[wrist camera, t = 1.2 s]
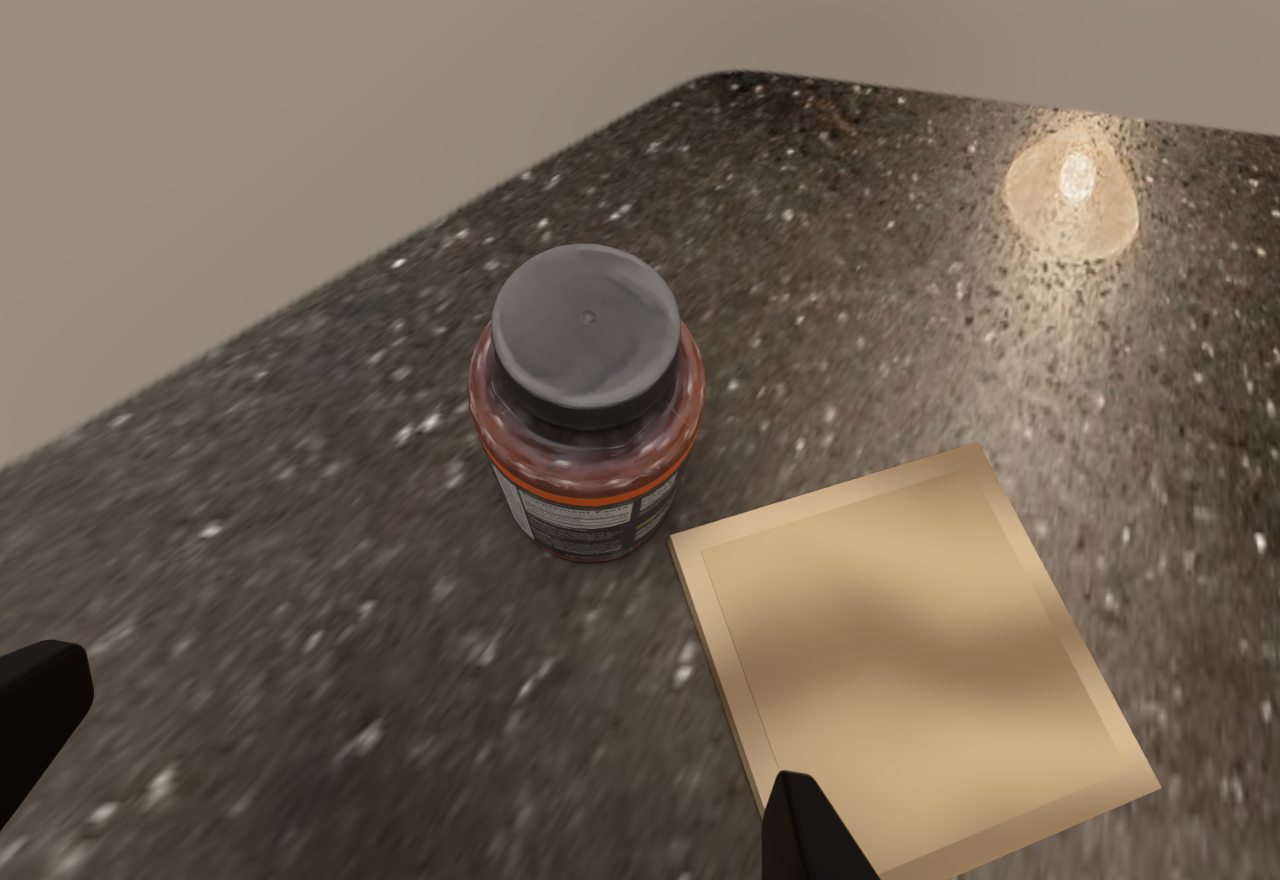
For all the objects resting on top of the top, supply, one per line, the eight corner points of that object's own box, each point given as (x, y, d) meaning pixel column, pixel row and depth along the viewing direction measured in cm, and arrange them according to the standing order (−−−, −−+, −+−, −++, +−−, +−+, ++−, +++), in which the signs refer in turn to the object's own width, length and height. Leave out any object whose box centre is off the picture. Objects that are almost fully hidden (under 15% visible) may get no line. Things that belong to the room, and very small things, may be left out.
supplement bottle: (544, 388, 26) (513, 166, 16) (693, 440, 26) (764, 249, 15) (478, 533, 24) (389, 388, 13) (640, 593, 23) (681, 492, 13)
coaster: (1137, 784, 22) (1163, 788, 21) (799, 929, 20) (809, 940, 19) (963, 451, 26) (978, 441, 25) (667, 542, 24) (670, 534, 23)
